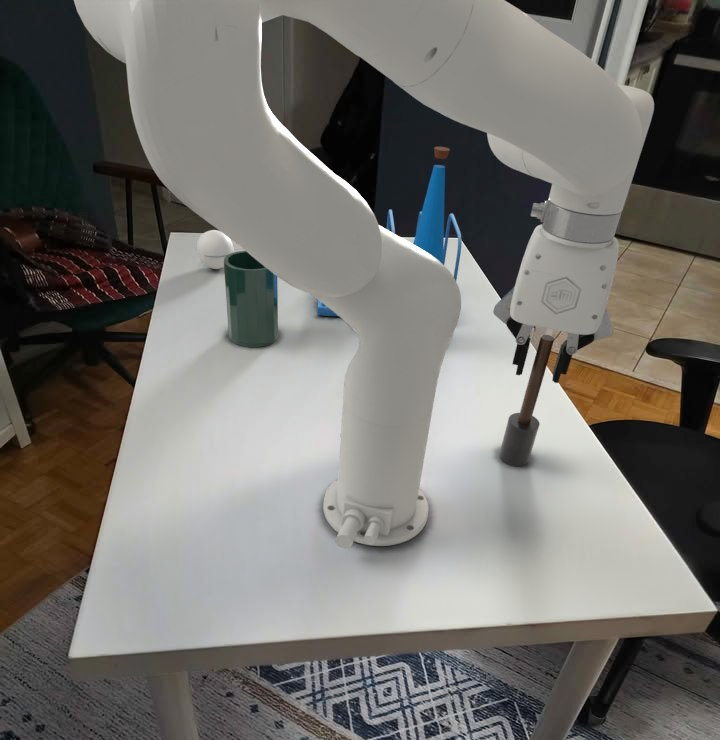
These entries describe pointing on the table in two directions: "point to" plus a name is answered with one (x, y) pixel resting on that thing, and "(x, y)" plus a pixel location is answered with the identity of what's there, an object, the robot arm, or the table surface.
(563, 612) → the table surface
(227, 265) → the cup
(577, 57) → the robot arm
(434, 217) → the bottle
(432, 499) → the table surface
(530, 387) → the brush
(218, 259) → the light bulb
